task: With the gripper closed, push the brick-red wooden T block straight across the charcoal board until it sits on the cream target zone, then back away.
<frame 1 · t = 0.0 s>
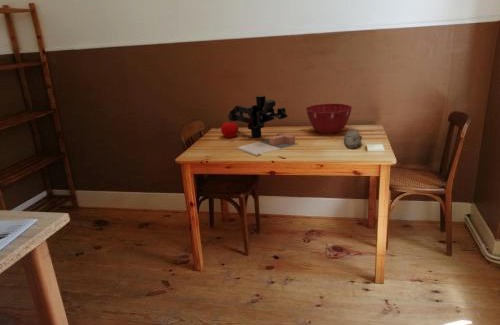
hand: (280, 117, 215), 17 cm above the table, tool horizontal, fingers open, 9 cm apart
mixing bowl: (328, 131, 246), on the table
grey wooden log: (352, 141, 222), on the table
t block: (280, 143, 222), point 1 cm above the table, touching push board
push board: (267, 147, 219), on the table
tomato: (230, 137, 247), on the table
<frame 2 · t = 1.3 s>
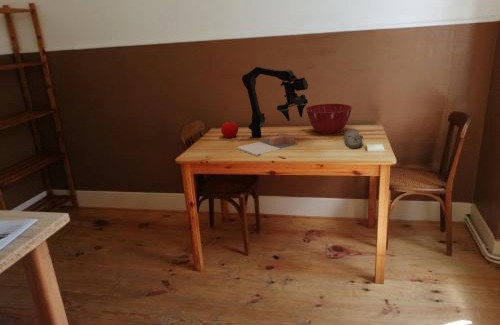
hand: (295, 119, 223), 13 cm above the table, tool pointing down, fingers open, 9 cm apart
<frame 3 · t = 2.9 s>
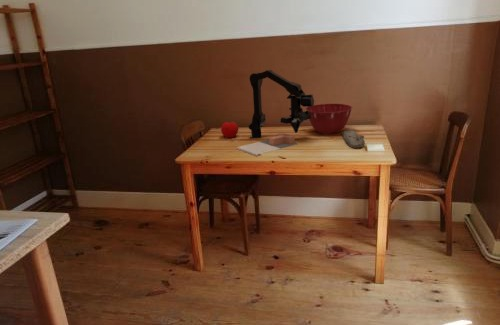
hand: (296, 132, 227), 5 cm above the table, tool pointing down, fingers closed
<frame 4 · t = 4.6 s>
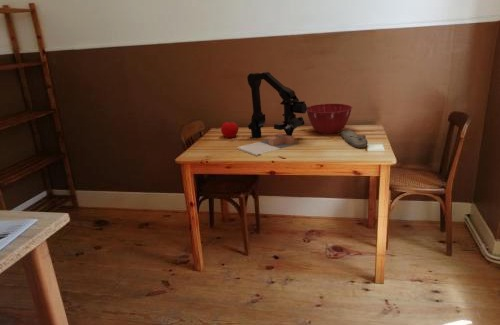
hand: (289, 138, 225), 2 cm above the table, tool pointing down, fingers closed
t block: (279, 143, 222), point 1 cm above the table, touching gripper
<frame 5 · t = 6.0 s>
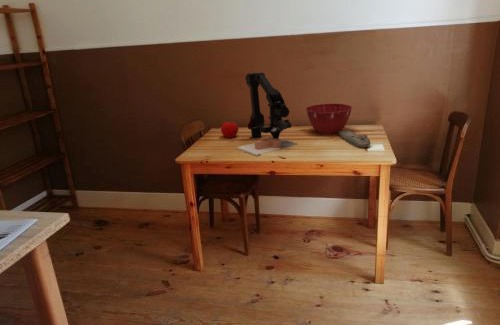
hand: (276, 141, 220), 2 cm above the table, tool pointing down, fingers closed
t block: (265, 146, 216), point 1 cm above the table, touching gripper
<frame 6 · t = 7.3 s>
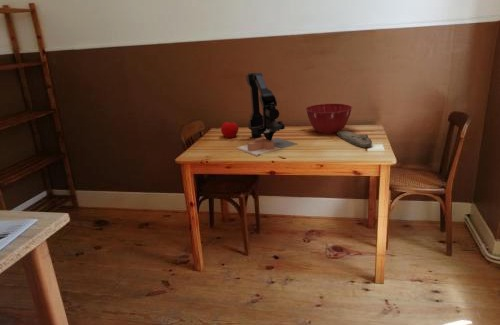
hand: (269, 143, 218), 2 cm above the table, tool pointing down, fingers closed
t block: (258, 148, 214), point 1 cm above the table, touching gripper, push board
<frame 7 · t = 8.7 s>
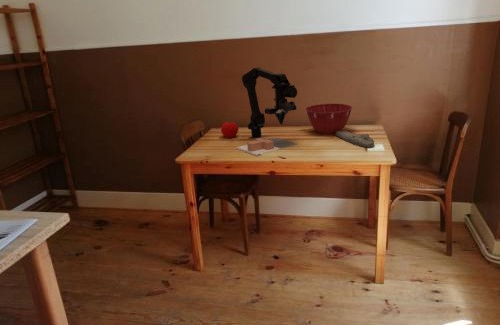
hand: (281, 124, 221), 12 cm above the table, tool pointing down, fingers closed
t block: (258, 148, 214), point 1 cm above the table, touching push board
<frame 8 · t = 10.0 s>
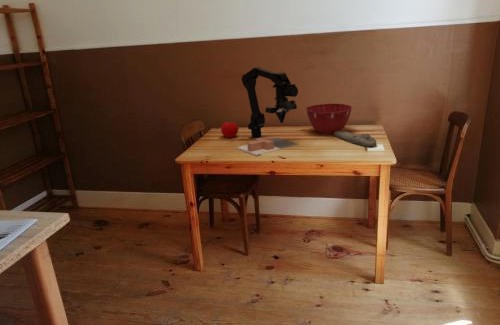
hand: (281, 123, 222), 12 cm above the table, tool pointing down, fingers closed
at the end: t block inside the target area (0.8 cm from its centre), point 1.0 cm above the table; t block tilted 0° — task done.
